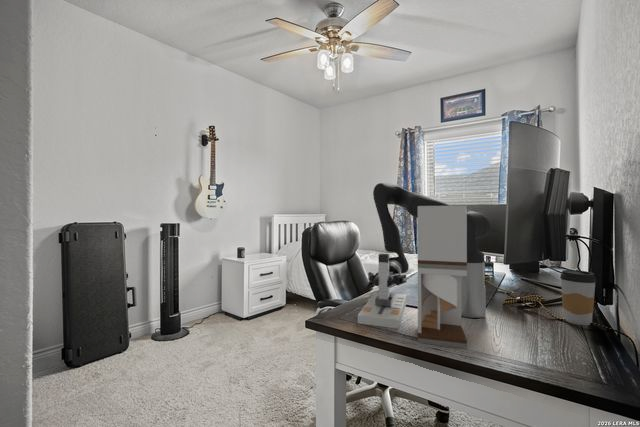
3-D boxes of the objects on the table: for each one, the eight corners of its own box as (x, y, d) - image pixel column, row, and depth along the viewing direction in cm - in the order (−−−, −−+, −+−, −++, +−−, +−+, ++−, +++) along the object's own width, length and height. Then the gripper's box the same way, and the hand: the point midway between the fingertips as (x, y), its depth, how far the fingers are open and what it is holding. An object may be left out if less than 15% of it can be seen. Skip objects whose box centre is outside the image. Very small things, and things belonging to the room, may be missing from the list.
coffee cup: (596, 321, 91) (596, 271, 91) (596, 329, 85) (596, 276, 85) (561, 315, 97) (561, 268, 97) (558, 322, 91) (558, 272, 91)
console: (407, 301, 113) (407, 294, 113) (398, 328, 87) (398, 319, 87) (374, 298, 117) (374, 291, 117) (357, 323, 91) (357, 314, 91)
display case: (417, 342, 77) (417, 206, 77) (417, 327, 88) (417, 206, 87) (466, 348, 74) (466, 205, 74) (460, 331, 84) (460, 206, 84)
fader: (392, 303, 101) (392, 254, 100) (390, 306, 97) (390, 255, 97) (377, 301, 102) (377, 253, 102) (375, 305, 99) (375, 254, 98)
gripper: (371, 261, 115) (360, 270, 99) (409, 264, 110) (405, 273, 94) (371, 281, 115) (361, 293, 99) (409, 284, 110) (405, 297, 94)
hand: (382, 283), depth 97 cm, fingers closed on fader, 3 cm apart
